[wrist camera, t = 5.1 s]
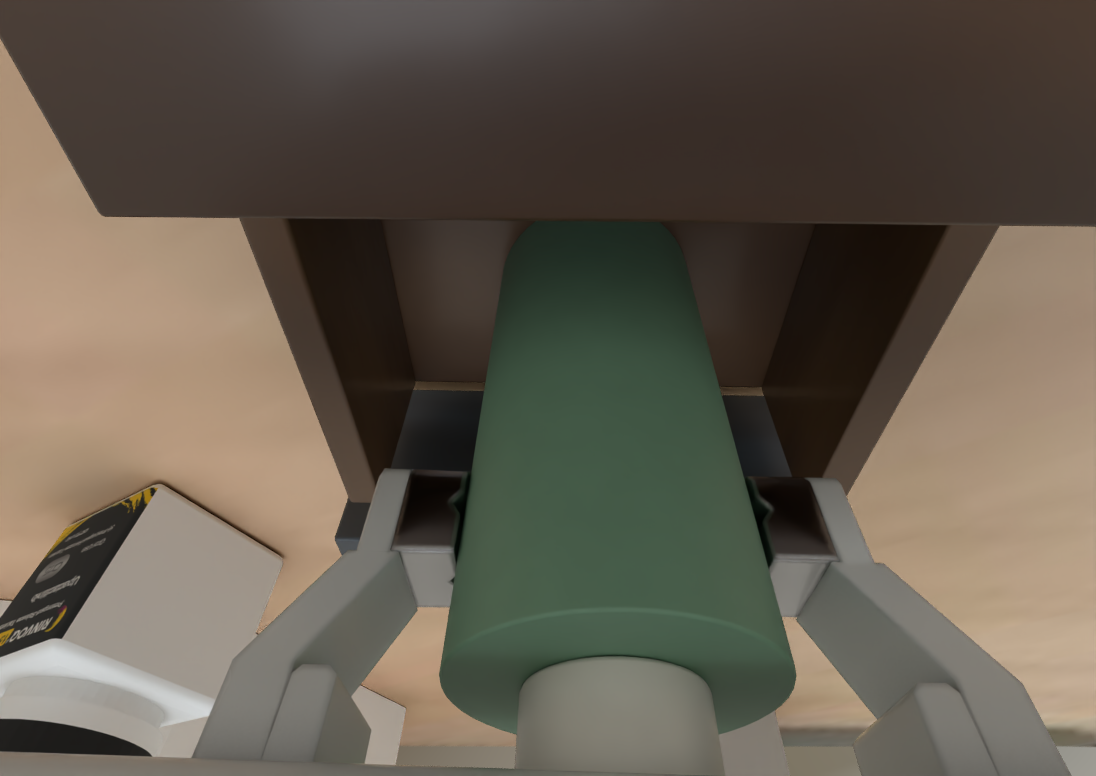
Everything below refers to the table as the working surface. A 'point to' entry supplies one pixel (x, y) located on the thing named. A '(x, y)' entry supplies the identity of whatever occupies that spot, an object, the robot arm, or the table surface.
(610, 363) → the sanitiser bottle
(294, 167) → the desk cabinet
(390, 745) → the white rectangular box
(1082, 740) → the table surface
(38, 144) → the table surface
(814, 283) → the drawer
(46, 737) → the medicine bottle
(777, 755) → the bottle
